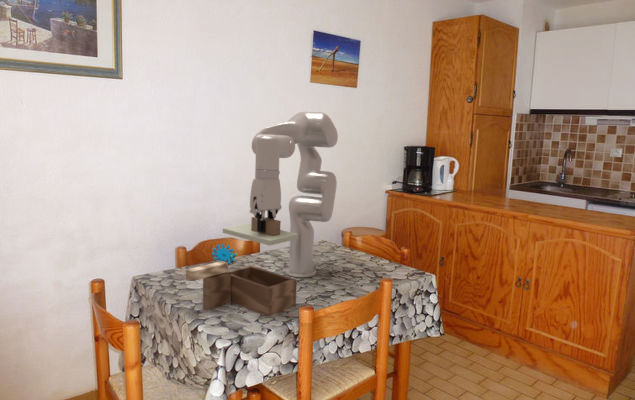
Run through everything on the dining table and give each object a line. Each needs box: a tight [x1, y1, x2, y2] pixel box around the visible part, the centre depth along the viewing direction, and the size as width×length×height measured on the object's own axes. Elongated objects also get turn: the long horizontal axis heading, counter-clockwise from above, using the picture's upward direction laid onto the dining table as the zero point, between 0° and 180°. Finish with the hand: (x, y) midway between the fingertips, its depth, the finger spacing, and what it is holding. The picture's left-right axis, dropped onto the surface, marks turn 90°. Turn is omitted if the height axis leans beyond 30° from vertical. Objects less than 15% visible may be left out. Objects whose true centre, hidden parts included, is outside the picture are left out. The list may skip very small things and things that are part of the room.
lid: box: [222, 216, 298, 246], centre depth 155 cm, size 13×22×6 cm, turn 51°
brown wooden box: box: [202, 265, 298, 318], centre depth 154 cm, size 22×22×10 cm
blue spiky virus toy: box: [211, 243, 238, 265], centre depth 202 cm, size 11×6×10 cm
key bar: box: [185, 261, 229, 282], centre depth 150 cm, size 14×3×3 cm, turn 141°
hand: (265, 230), depth 154 cm, fingers closed on lid, 3 cm apart
